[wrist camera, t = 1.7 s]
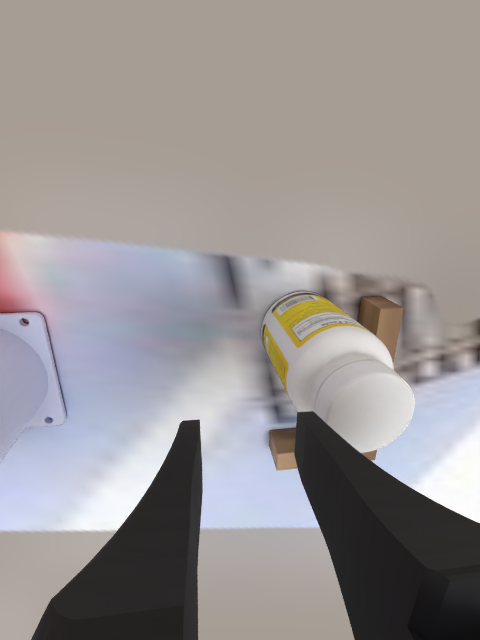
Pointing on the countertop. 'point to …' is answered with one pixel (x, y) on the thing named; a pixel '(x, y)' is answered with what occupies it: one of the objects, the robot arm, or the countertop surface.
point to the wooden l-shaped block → (385, 326)
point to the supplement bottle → (337, 370)
